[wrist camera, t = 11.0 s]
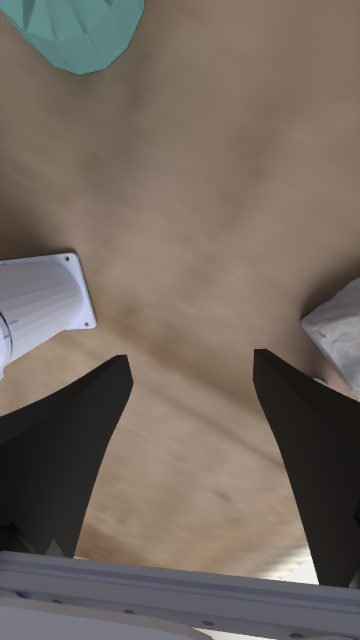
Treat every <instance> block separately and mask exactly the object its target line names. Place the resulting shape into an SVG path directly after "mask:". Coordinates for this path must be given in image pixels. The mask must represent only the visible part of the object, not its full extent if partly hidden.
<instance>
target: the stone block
mask: <svg viewBox="0 0 360 640" xmlns="http://www.w3.org/2000/svg"><path fill="white" fill-rule="evenodd" d="M301 326H302V328H303V329H304V330H305V332H306V333H307V334H308V336H309V337H310V338H311V340H312V341H313V342H314V344H315V345H316V346H317V347H318V349H319V350H320V351H321V353H322V354H323V356H324V357H325V358H326V360H327V361H328V362H329V364H330V365H331V366H332V367H333V369H334V370H335V371H336V372H337V374H338V375H339V377H340V378H341V379H342V381H343V382H344V383H345V385H346V386H347V387H348V388H349V390H358V391H360V277H359V278H357V279H355V280H353V281H351V282H350V283H349V284H348V285H347V286H346V287H345V288H343V289H342V290H341V291H339V292H338V293H337V294H336V295H335V296H334V297H333V298H332V299H330V300H329V301H327V302H325V303H323V304H322V305H320V306H318V307H317V308H316V309H315V310H313V311H312V312H311V313H310V314H308V315H307V316H305V317H304V318H303V319H302V320H301ZM355 396H356V395H355ZM356 397H357V396H356Z"/></svg>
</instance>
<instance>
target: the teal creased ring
mask: <svg viewBox="0 0 360 640" xmlns="http://www.w3.org/2000/svg"><path fill="white" fill-rule="evenodd" d="M144 1H145V0H0V10H1V11H2V12H3V13H4V15H5V16H6V17H7V18H8V19H9V20H10V22H11V23H12V24H13V25H14V26H15V27H16V29H17V30H18V31H19V32H20V33H21V35H22V36H23V37H24V38H25V39H26V40H27V42H28V43H29V44H30V45H32V46H33V47H34V48H35V49H36V50H37V51H38V52H39V53H40V54H41V55H42V56H43V57H45V58H46V59H47V60H48V61H49V62H50V63H51V65H52V66H54V67H57V68H60V69H63V70H66V71H69V72H72V73H75V74H78V75H82V74H86V73H90V72H94V71H98V70H103V69H104V70H105V69H107V67H108V66H109V65H110V64H111V63H112V62H113V61H114V60H115V59H116V58H117V57H118V56H119V55H120V54H121V53H122V52H123V51H124V50H125V49H127V47H128V44H129V42H130V40H131V38H132V35H133V33H134V31H135V29H136V26H137V24H138V22H139V20H140V17H141V15H142V14H143V11H144Z"/></svg>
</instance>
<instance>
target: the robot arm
mask: <svg viewBox="0 0 360 640" xmlns="http://www.w3.org/2000/svg"><path fill="white" fill-rule="evenodd" d="M67 257H69V261H68V260H67ZM86 322H87V323H88V324H89V325H87V323H86ZM96 325H97V322H96V319H95V315H94V312H93V308H92V305H91V301H90V298H89V294H88V291H87V287H86V284H85V280H84V277H83V273H82V270H81V266H80V262H79V259H78V256H77V255H76V254H75V253H65V254H56V255H48V256H39V257H31V258H22V259H13V260H5V261H0V380H1V379H2V378H4V375H3V368H4V366H6V365H8V364H9V363H11V362H12V361H14V360H16V359H17V358H19V357H20V356H22V355H24V354H25V353H27V352H28V351H30V350H32V349H33V348H35V347H36V346H38V345H40V344H41V343H43V342H45V341H46V340H48V339H49V338H51V337H53V336H54V335H56V334H57V333H59V332H61V331H62V330H69V329H86V328H94V327H95V326H96ZM253 382H254V386H255V390H256V393H257V396H258V399H259V402H260V404H261V406H262V409H263V411H264V413H265V416H266V418H267V420H268V423H269V425H270V427H271V430H272V432H273V434H274V437H275V439H276V442H277V444H278V447H279V449H280V452H281V455H282V459H283V462H284V465H285V468H286V471H287V474H288V477H289V481H290V484H291V487H292V490H293V494H294V497H295V500H296V503H297V507H298V510H299V514H300V517H301V521H302V524H303V527H304V531H305V534H306V538H307V542H308V545H309V549H310V552H311V556H312V560H313V563H314V567H315V571H316V574H317V578H318V582H319V585H314V584H305V583H296V582H287V581H278V580H268V579H259V578H250V577H241V576H232V575H222V574H213V573H204V572H195V571H186V570H176V569H167V568H158V567H149V566H140V565H130V564H121V563H112V562H103V561H94V560H84V559H75V558H73V557H74V553H75V550H76V546H77V542H78V538H79V535H80V531H81V527H82V524H83V520H84V517H85V513H86V510H87V507H88V503H89V500H90V496H91V493H92V490H93V487H94V484H95V481H96V478H97V474H98V471H99V468H100V465H101V463H102V460H103V457H104V454H105V451H106V448H107V446H108V443H109V441H110V438H111V436H112V434H113V432H114V430H115V427H116V425H117V423H118V421H119V419H120V417H121V415H122V412H123V410H124V408H125V406H126V404H127V401H128V399H129V396H130V393H131V390H132V386H133V379H132V375H131V370H130V366H129V362H128V358H127V355H116V356H114V357H112V358H111V359H109V360H107V361H106V362H104V363H103V364H101V365H100V366H98V367H96V368H95V369H93V370H92V371H90V372H89V373H87V374H86V375H84V376H82V377H81V378H79V379H77V380H76V381H74V382H72V383H71V384H69V385H67V386H66V387H64V388H62V389H60V390H58V391H57V392H55V393H53V394H51V395H49V396H47V397H45V398H43V399H41V400H38V401H36V402H34V403H32V404H29V405H27V406H25V407H23V408H21V409H18V410H16V411H13V412H11V413H8V414H6V415H3V416H1V417H0V640H214V639H213V638H212V637H211V636H209V635H207V634H205V633H202V632H200V631H198V630H196V629H194V628H201V629H208V630H215V631H222V632H229V633H236V634H242V635H249V636H256V637H263V638H269V639H277V640H360V402H358V401H356V400H354V399H352V398H349V397H347V396H345V395H343V394H341V393H339V392H337V391H335V390H333V389H331V388H329V387H327V386H325V385H323V384H321V383H319V382H318V381H316V380H314V379H312V378H311V377H309V376H307V375H306V374H304V373H302V372H301V371H299V370H297V369H296V368H294V367H293V366H291V365H290V364H288V363H287V362H285V361H284V360H282V359H281V358H279V357H278V356H276V355H275V354H273V353H272V352H271V351H269V350H267V349H254V366H253ZM192 627H194V628H192Z"/></svg>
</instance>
